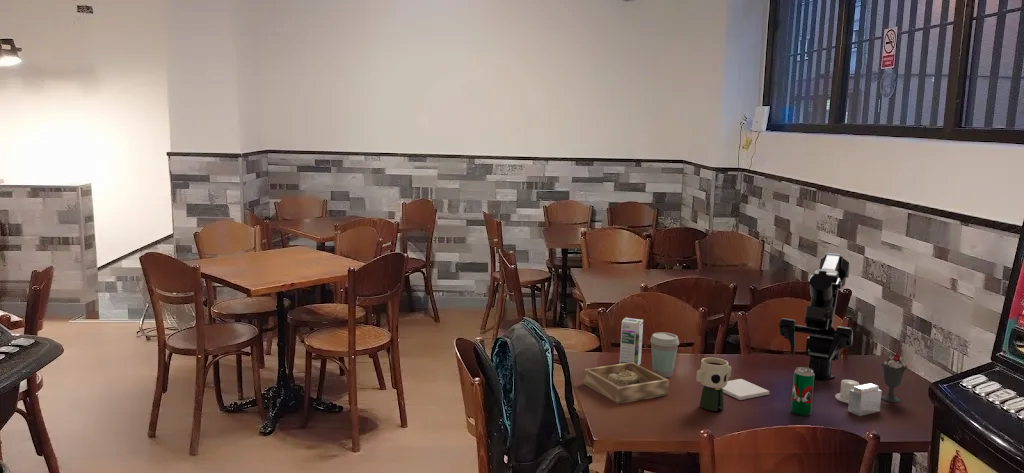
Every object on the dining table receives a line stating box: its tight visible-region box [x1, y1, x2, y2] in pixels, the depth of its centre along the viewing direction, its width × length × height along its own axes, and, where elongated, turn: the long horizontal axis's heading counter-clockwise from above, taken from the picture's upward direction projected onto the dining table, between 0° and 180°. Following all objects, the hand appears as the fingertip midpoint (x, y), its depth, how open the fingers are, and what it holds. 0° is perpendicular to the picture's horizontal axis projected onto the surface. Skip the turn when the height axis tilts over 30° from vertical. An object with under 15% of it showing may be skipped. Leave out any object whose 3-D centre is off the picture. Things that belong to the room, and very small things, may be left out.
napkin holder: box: [847, 382, 883, 417], centre depth 203 cm, size 8×4×7 cm, turn 117°
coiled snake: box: [607, 369, 640, 387], centre depth 215 cm, size 10×10×5 cm
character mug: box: [695, 357, 732, 412], centre depth 201 cm, size 11×7×13 cm, turn 113°
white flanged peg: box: [834, 379, 860, 404], centre depth 212 cm, size 7×7×5 cm
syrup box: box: [618, 317, 644, 366], centre depth 235 cm, size 6×6×14 cm
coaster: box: [722, 378, 770, 401], centre depth 216 cm, size 11×11×1 cm
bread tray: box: [583, 362, 670, 405], centre depth 214 cm, size 17×17×4 cm
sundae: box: [880, 349, 908, 404], centre depth 212 cm, size 7×7×15 cm
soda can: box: [790, 366, 815, 417], centre depth 200 cm, size 5×5×12 cm
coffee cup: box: [650, 332, 680, 379], centre depth 227 cm, size 8×8×12 cm
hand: (810, 358), depth 205 cm, fingers open, 9 cm apart
